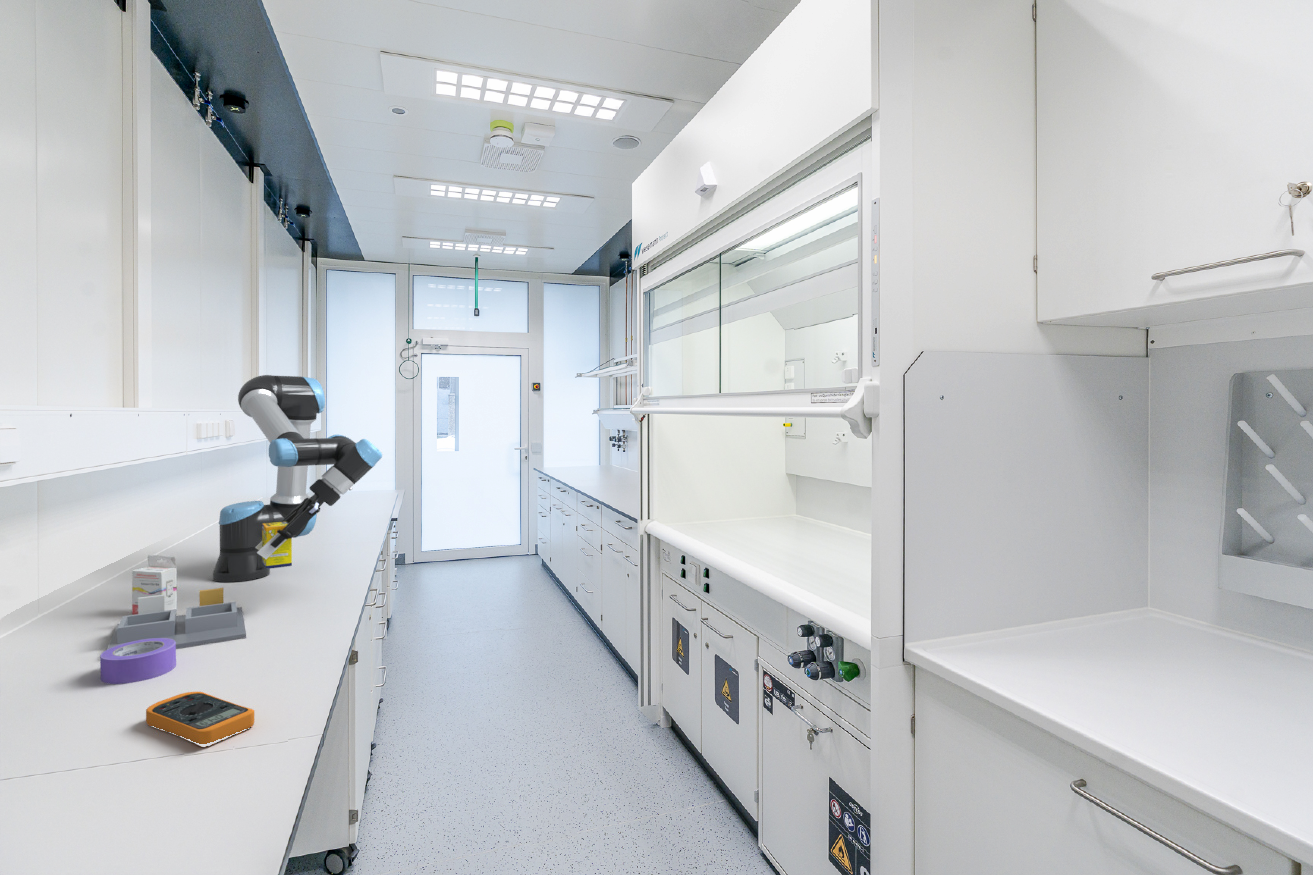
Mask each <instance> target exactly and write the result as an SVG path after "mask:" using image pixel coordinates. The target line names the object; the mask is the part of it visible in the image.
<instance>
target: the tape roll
mask: <svg viewBox="0 0 1313 875" xmlns="http://www.w3.org/2000/svg"><path fill="white" fill-rule="evenodd" d="M176 651H177V649H176V642H175V641H174V640H173V639H169V638H152V639H143V640H137V641H132V642H128V643H124V644H121V645H117V646H115V647H112V648H110V649H108V650H107V649H105V650H104V651H103V652H101V654H100V655H99V661H100V662H99V664H100V665H99V666H100V680H101V682H102V683H105V684H110V685H120V684H121V685H123V684H132V683H139V682H144V681H148V680H152V679H155V678H158V677H161V676H163V675H166V674H167V673H170V672H172V670H174V669H175V668H176V666H177V652H176Z"/></svg>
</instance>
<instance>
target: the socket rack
mask: <svg viewBox="0 0 1313 875" xmlns="http://www.w3.org/2000/svg"><path fill="white" fill-rule="evenodd" d="M198 595H199V606H191V607H186V609H185V614H180V615H177V611H176V609H174V610H167V611H165V595H156V596H148V597H139V598H138V614H136V615H132V614H131V615H129V614H128V615H122V617H121V618H120V621H119V623H117V625H116V627H115V629H114V631H113V634H112V637H111V639H110V641H109V643H108V645H107V649H106V650H108V649H110V648H112V647H115V646H117V645H121V644H124V643H128V642H132V641H137V640H143V639H152V638H169V639H173V640H174V641H175V642H176V650H178V649H184V648H189V647H197V646H202V645H204V646H205V645H209V644H210V645H211V644H215V643H221V642H220V641H223V642H229V641H235V640H240V639H239V638H242V639H247V630H246V625H245V619H244V618H245V617H244V611H243V607H242V606H240V607H237V601H228V602H224V587H217V588H208V589H207V588H206V589H200V590H199V594H198Z"/></svg>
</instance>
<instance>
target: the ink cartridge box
mask: <svg viewBox="0 0 1313 875" xmlns="http://www.w3.org/2000/svg"><path fill="white" fill-rule="evenodd" d="M160 560H163V561H161V562H160ZM176 560H177V558H176V557H175V556H173V555H172V556H171V555H156V554H155V555H152V554H148V555H147V563H148V564H147V565H148V566H144V567H141V568H136V569H131V574H132V575H131V576H132V581H131V582H132V583H131V586H132V587H131V588H132V589H131V591H132V592H131V595H132V596H131V597H132V598H131V599H132V602H131V603H132V604H131V606H132V607H131V609H132V612H131V615H136V614H138V598H139V597H148V596H156V595H165V611H167V610H174V609H176V612H178V583H177V582H178V580H177V578H178V573H177V571H178V568H177V561H176ZM165 561H166V562H165Z"/></svg>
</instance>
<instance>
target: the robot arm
mask: <svg viewBox="0 0 1313 875" xmlns="http://www.w3.org/2000/svg"><path fill="white" fill-rule="evenodd" d="M325 397H326V396H325V391H324V387H322V384H321V383H320V382H319V381H318V379H316V378H314V377H306V376H300V375H299V376H298V375H297V376H295V375H293V376H292V375H272V374H270V375H269V374H263V375H259V376H254V377H253V378H251V379H249V380H248V381H246V382H245V383H244V384H243V385H242V386H241V388H240V390H239V392H238V394H237V401H238V405H239V408H240V409H241V410H242V412H243V414H245V415H246V416H247V417H250V418H252V420H253V421H254V422H255V424H256V425H257V426H258V428H259V429H260V431H261V432H262V434H263V435H264V436H265V438H266V439H267V440H268V442H269V446H268V457H269V462H270V463H271V464H272V466H274V467H277V473H276V474H277V475H276V490H275V491H276V492H275V493H274V494H273V495H271V497H270V501H269V504H264V502H263V501H261V500H252V501H250V500H249V501H242V502H237V503H233V504H229V505H227V506H224V507H223V508H222V509H221V510H220V512H219V521H218V524H219V556H218V558H217V561H216V563H215V566H214V568H213V571H212V572H213V573H212V580H213V581H215V582H220V583H221V582H222V583H234V582H238V583H239V582H245V581H246V580H247V581H253V580H257V579H256V578H258V579H260V578H265V577H267V576H269V575H270V573H271V569H266V568H265V566H264V565H263V564H262V557H263V558H265V559H267V558H268V557H269V556H270V555H271V554H272V553H273V552H274V551H275V550H277V549H278V548H279V547H280V546H281V545H282V544H283V543H284V542H285V541H286V540H287V539H291V538H295V539H296V538H299V537H305V536H306V535H309V534H310V533H311V532H312V531H313V530H314V528H315V526H316V522H317V514H318V513H320V512H321V506H322V505H323V504H324V503H325V504H326V505H328V506H330V507H332V506H333V505H335V504H336V503H337V502H338V500H340V499H341V495H345V494H346V493H347V492H348V491H352V490H353V487H354V485H355V484H356V483H358V482H359V481H360V480H361V479H362V478H363V477H365V475H366V474H368V472H370V470H372V469H373V468H374V467H375V466H376V465H377V463H378V462H379V461H380V460H381V459H382V457H383V454H382V452H381V451H380V449H379V448H378V447H376V446H375V445H374V444H373V443H372V442H371V441H369V440H368V439H366V438H361V439H360V440H359V441H357V442H355V441H354V440H352V439H351V438H349V437H347V436H346V435H342V434H333V435H330V436H329V437H325V438H323V437H321V438H319V437H318V438H316V437H315V438H310V437H311V427H312V426H311V424H313V423H314V422H315V421H316V420H317V415H318V414H320V413H323V412H324V410H325V408H326V407H325V406H326V398H325ZM327 465H331V466H330V467H329V468H328V469H327V470H326V471H325V472H324V473H323V474H322V475H321V478H319V479H318V478H317V480H316V481H314V483H312V484H311V485H310V486H309V490H310V491H311V492H312V493H313V495H311V496H309V495H308V494H307V483H308V482H307V481H308V466H327ZM276 522H288V524H287V525H286V527H285V528H284V529H283V530H282V531H281V530H278V531H277V532H278V533H277V534H276V535H275V536H274V537H273V538H272V539H271V540H270V541H268V542H267V543H266V544H265V545H264V546H263V547H262V524H264V523H276ZM252 579H253V580H252ZM247 581H246V582H247Z"/></svg>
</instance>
